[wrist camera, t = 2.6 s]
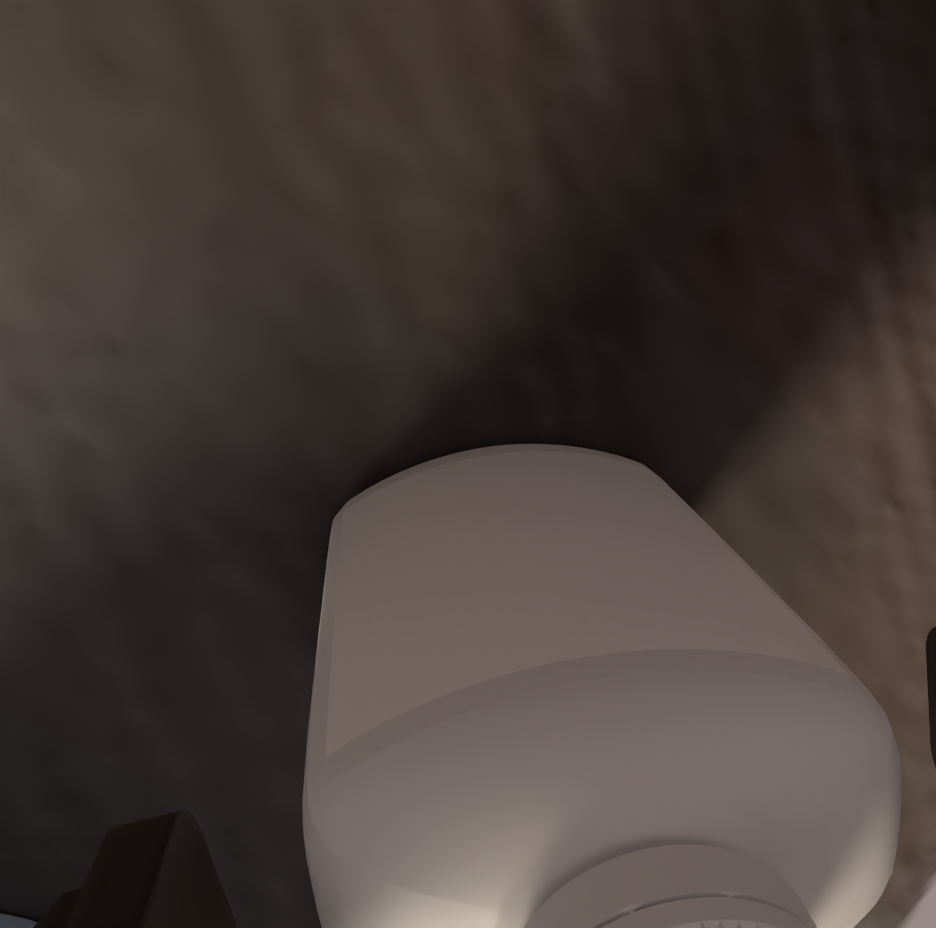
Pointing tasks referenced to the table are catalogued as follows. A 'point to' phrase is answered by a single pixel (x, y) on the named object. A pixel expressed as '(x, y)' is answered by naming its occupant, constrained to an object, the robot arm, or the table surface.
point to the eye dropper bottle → (578, 715)
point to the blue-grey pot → (15, 922)
